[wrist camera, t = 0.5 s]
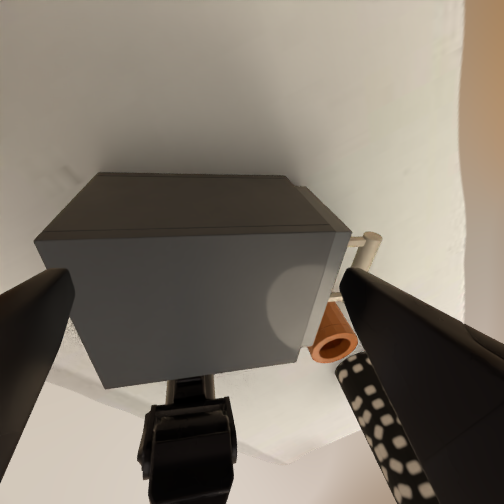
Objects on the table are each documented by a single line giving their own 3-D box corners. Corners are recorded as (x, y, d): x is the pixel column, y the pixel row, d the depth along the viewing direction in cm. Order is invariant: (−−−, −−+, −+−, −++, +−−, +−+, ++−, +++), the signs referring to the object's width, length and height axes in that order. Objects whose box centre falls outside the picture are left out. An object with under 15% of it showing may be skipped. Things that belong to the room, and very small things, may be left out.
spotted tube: (343, 384, 47) (421, 543, 31) (328, 367, 42) (412, 545, 26) (384, 364, 46) (487, 520, 30) (374, 344, 41) (491, 518, 25)
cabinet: (285, 175, 22) (337, 231, 14) (268, 285, 29) (296, 362, 21) (97, 172, 19) (32, 240, 11) (130, 295, 26) (104, 389, 18)
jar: (327, 320, 35) (349, 359, 30) (290, 324, 34) (307, 366, 29) (338, 291, 32) (364, 330, 27) (298, 295, 31) (317, 336, 26)
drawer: (357, 186, 23) (420, 229, 16) (326, 282, 29) (363, 339, 23) (137, 184, 19) (110, 239, 13) (157, 295, 25) (146, 367, 19)
